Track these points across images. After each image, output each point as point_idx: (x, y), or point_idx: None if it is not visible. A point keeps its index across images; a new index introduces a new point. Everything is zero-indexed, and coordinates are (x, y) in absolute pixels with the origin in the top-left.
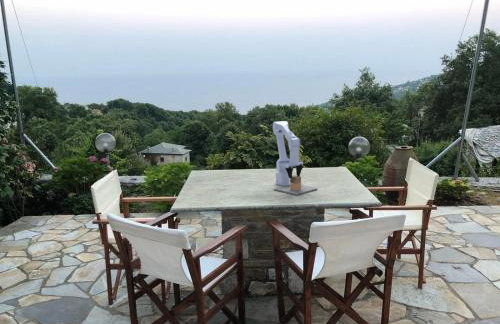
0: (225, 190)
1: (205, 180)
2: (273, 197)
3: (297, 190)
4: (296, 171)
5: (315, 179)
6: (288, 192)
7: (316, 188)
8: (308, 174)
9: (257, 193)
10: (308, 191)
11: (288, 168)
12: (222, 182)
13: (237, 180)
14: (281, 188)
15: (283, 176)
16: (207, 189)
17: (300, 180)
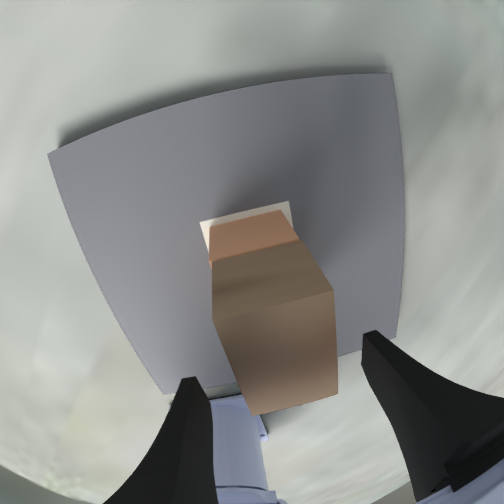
0: (483, 383)
1: (405, 474)
2: (501, 169)
3: (295, 182)
4: (212, 464)
5: (7, 400)
6: (401, 181)
7: (58, 152)
8: (33, 454)
9: (482, 302)
10: (193, 99)
11: (498, 434)
12: (399, 463)
13: (346, 479)
14: (356, 321)
15: (252, 462)
16: None
17: (225, 277)
